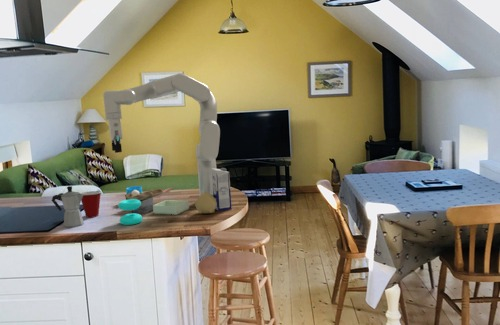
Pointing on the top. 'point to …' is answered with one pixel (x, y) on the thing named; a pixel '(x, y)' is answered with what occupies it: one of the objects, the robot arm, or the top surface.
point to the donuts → (130, 218)
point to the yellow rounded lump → (206, 203)
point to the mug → (130, 189)
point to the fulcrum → (145, 206)
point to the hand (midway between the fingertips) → (117, 151)
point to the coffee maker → (70, 207)
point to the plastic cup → (91, 203)
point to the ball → (135, 193)
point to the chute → (147, 194)
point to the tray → (171, 207)
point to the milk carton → (221, 188)
